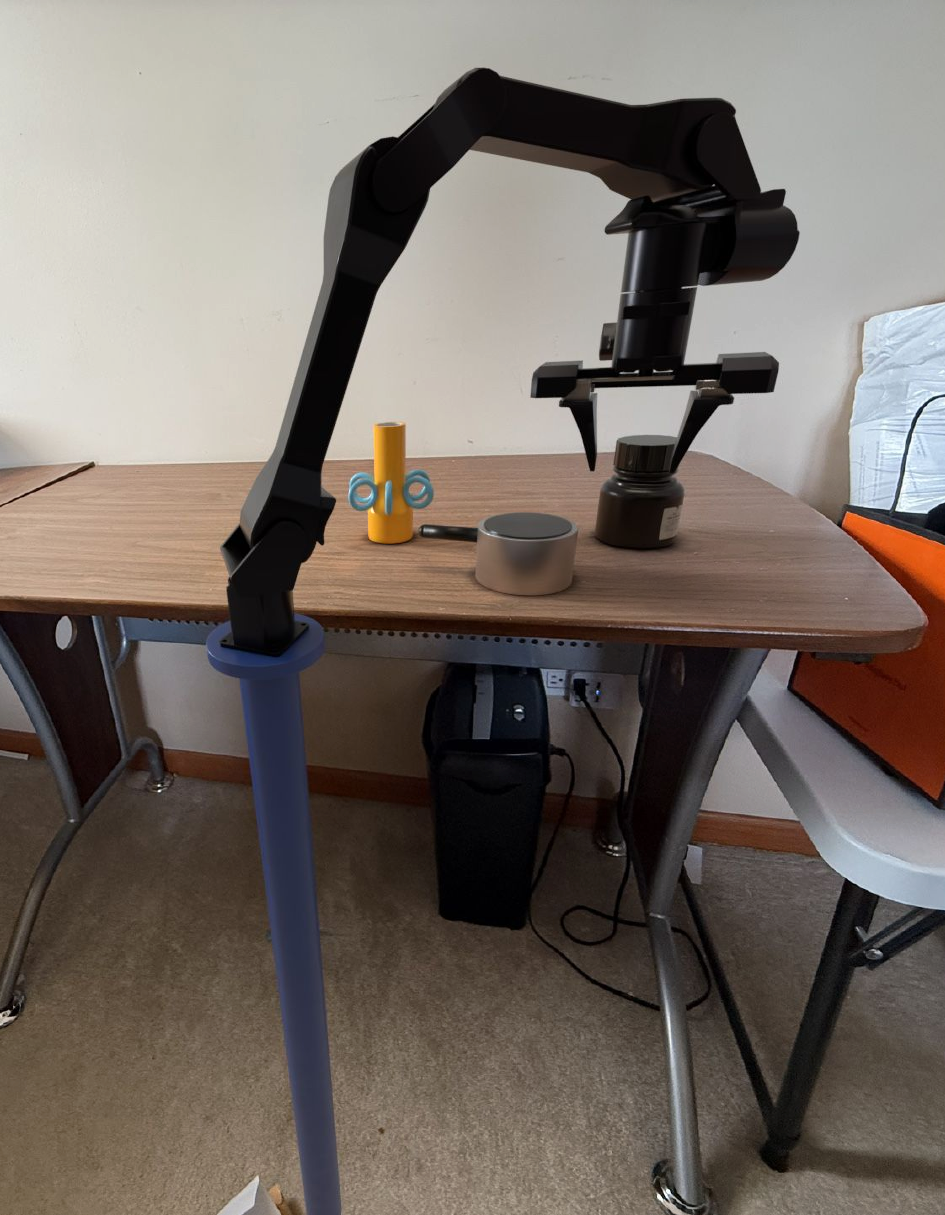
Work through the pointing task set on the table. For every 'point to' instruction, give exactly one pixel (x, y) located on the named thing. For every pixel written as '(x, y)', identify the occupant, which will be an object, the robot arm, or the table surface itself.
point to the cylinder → (390, 487)
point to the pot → (518, 551)
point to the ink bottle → (640, 495)
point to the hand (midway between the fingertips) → (630, 471)
